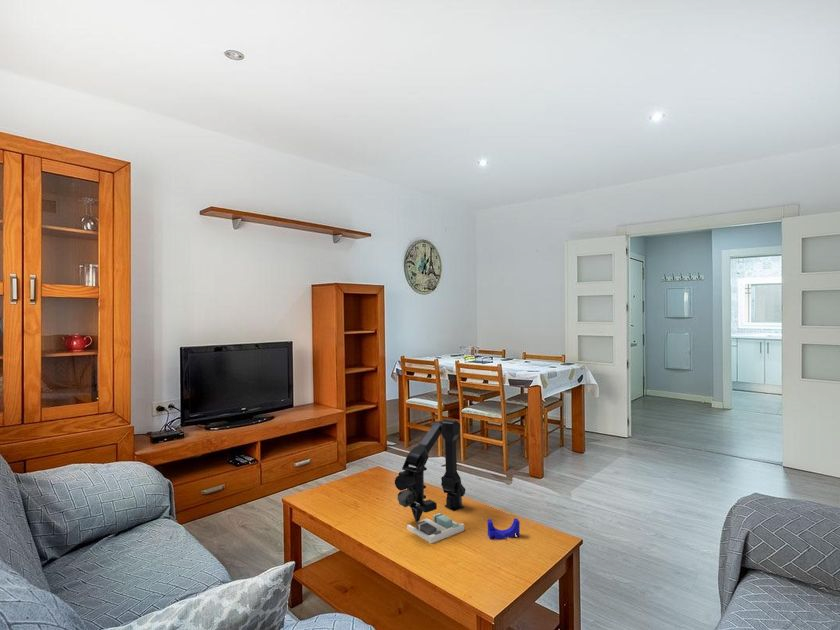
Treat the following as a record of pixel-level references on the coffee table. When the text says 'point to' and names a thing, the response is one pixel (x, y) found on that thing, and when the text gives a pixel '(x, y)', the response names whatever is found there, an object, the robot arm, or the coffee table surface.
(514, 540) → the coffee table surface
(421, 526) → the dark grey block
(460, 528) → the slot rack
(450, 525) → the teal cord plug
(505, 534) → the blue cradle block
